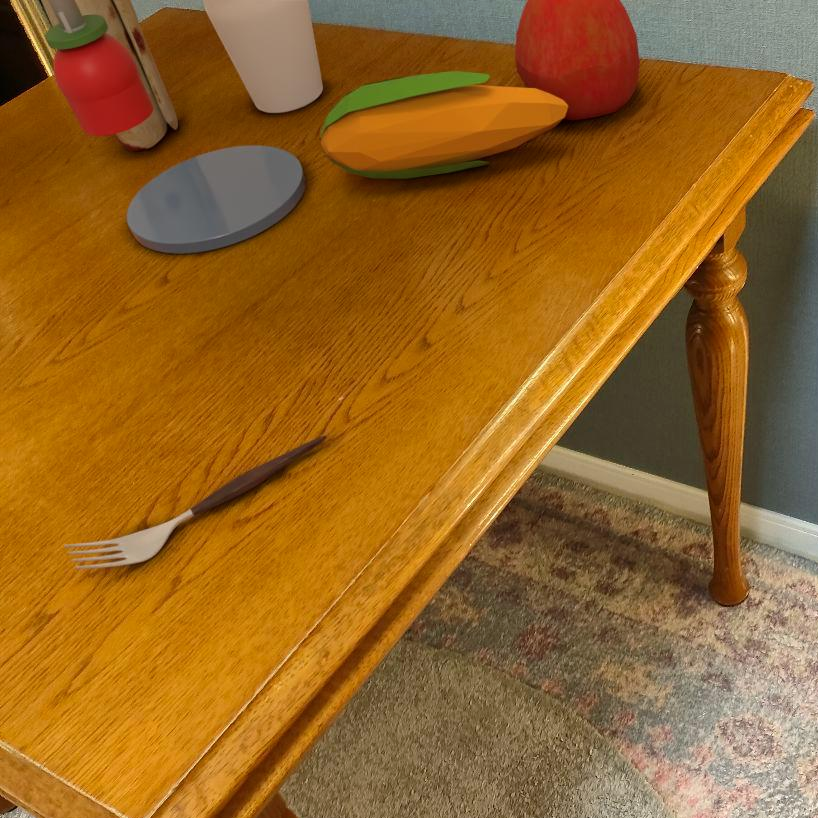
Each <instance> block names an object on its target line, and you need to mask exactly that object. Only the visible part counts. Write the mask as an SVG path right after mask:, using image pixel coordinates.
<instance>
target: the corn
mask: <svg viewBox="0 0 818 818" xmlns="http://www.w3.org/2000/svg"><path fill="white" fill-rule="evenodd" d="M490 76H491V74H488V73H483V72H482V73H481V72H474V71H473V72H471V71H460V70H459V71H457V70H449V71H442V72H433V73H423V74H417V75H416V74H415V75H411V76H404V77H403V76H399V77H393V78H389V79H383V80H378V81H374V82H369V83H363V84H362V85H361V86H358V87H357V88H356V89H353V90H351V91H350V92H347V94H346V95H344V97H342V98H341V99H340V100H339V101H338V102H337V103H336V104H335V105H333V107H332V108H331V110H330V111H329V113H328V114H327V116H326V118H325V120H324V124H323V126H322V128H321V132H320V134H319V140H320V145H321V148H322V151H323V152H322V153H324V154H325V156H326V158H328V159H329V160H330V161H331V162H332V164H334V165H335V166H337V167H338V168H339V169H341V170H344V171H346V172H348V173H349V174H353V175H357V176H361V177H365V178H370V179H389V180H391V179H393V180H394V179H397V180H402V179H406V180H407V179H414V178H421V177H427V176H435V175H442V174H449V173H453V172H458V171H462V170H467V169H472V168H478V167H482V166H486V165H490V162H488V161H485V160H479V159H481V158H485V157H488V156H493V155H495V154H499V153H503V152H505V151H509V150H513V149H515V148H517V147H519V146H521V145H523V144H525V143H527V142H529V141H530V140H532V139H534V138H536V137H538V136H540V135H542V134H544V133H546V132H548V131H549V130H551V129H553V128H555V127H557V125H558V124H560V122H561V121H563V120H564V119H563V118H564V117H565V115H566V112H567V109H568V105H567V104H566V103H565V101H564V100H562V99H560V98H558V97H556V96H554V95H552V94H550V93H547V92H544V91H541V90H539V89H536V88H527V87H521V86H516V87H515V86H500V85H484V83H486V82H487V81H488V80H489V79H490ZM479 84H480V85H479ZM481 84H483V85H481Z"/></svg>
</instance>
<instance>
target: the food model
mask: <svg viewBox="0 0 818 818" xmlns="http://www.w3.org/2000/svg"><path fill="white" fill-rule="evenodd" d="M40 1H41V4H42V6H43V8H44V10H45V13H46V15H47V18H48V19H49V22H50V25H51V28H52V27H54V26H55V25H57V24H59V22H58V20H57V18H56V16H55V14H54V12H53V10H52V8H51V6H50V4H49V2H48V0H40ZM75 1H76V3H77V5H78V7H79V10H80V12H81V14H82V15H91V14H95V15H101V16H103V17H104V18H105V21H106V23H107V25H108V30H107V31H106V33H107V34H109V35H111V36H113V37H114V38H116V39H117V40H119V41H120V42H121V43H122V44H123V45H124V46H125V47H126V48H127V49H128V50H129V52H130V53H131V55H132V56H133V58H134V60H135V62H136V65H137V68H138V72H139V75H140V77H141V80H142V82H143V84H144V86H145V88H146V91H147V93H148V95H149V97H150V100H151V102H152V104H153V107H154V109H153V112H152V114H151V115H150V116H149V117H148V118H147V119H146V120H145V121H143V122H142V123H140V124H139V125H137V126H135V127H133V128H131V129H129V130H126V131H124V132H120V133H117V134H114V135H115V137H116V139H117V141H118V142H119V143H120V144H121V145H122V146H123V147H124V148H125V149H126V150H128V151H130V152H138V151H142V150H147V149H150V148H152V147H154V146H155V145H156V144H157V143H159V141H161V140H162V139H163V138H164V136H165V135H166V133H167V131H168V125H169V127H171V128H172V129H173V130H174V131H177V129H178V127H179V122H178V118H177V114H176V111H175V108H174V105H173V103H172V101H171V99H170V96H169V94H168V91H167V88H166V86H165V84H164V81H163V79H162V76H161V74H160V72H159V69H158V67H157V64H156V61H155V59H154V57H153V54H152V51H151V49H150V47H149V45H148V42H147V39H146V37H145V35H144V32H143V29H142V27H141V25H140V21H139V18H138V16H137V13H136V10H135V8H134V5H133V4H132V1H131V0H75Z"/></svg>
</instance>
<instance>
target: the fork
mask: <svg viewBox="0 0 818 818" xmlns="http://www.w3.org/2000/svg"><path fill="white" fill-rule="evenodd" d="M327 438H328V436H327V435H322V436H319V437H317V438H314V439H312V440H310V441H307V442H305V443H303V444H301V445H299V446H297V447H295V448H293V449H291V450H289V451H287V452H285V453H283V454H281V455H279V456H276V457H275V458H272V459H270V460H268V461H266V462H264V463H262V464H260V465H257V466H256V467H253V468H251V469H250V470H247V471H246V472H244V473H242V474H240V475H238V476H236V477H235V478H234V479H232V480H230V481H229V482H227V483H225V484H224V485H222V486H221V487H219V489H217V490H215V491H214V492H212V493H211V494H209V495H208V496H207V497H205V498H204V499H202V500H201V501H200V502H198V503H196V504H195V505H193V506H192V507H191V508H189V509H188V510H186V511H185V512H183V513H182V514H180V515H178V516H176V517H175V518H173V519H170V520H169V521H166V522H163V523H161V524H158V525H154V526H152V527H149V528H146V529H143V530H140V531H137V532H134V533H131V534H127V535H124V536H120V537H116V538H111V539H107V540H99V541H91V542H83V543H81V542H80V543H71V544H69V543H67V544H65V545H64V548H85V547H88V548H89V547H96V546H97V547H99V546H100V547H101V546H108V547H102V548H94V549H86V550H74V551H68V552H67V553H68V555H70V556H72V555H74V556H75V555H88V554H89V555H91V554H103V553H110V552H111V553H112V554H106V555H99V556H91V557H81V558H80V557H79V558H72V559H71V562H74V563H79V562H94V561H107V560H116V559H121V560H117V561H112V562H111V561H110V562H105V563H96V564H88V565H87V564H86V565H76V566H75V569H76V570H89V569H103V568H112V567H123V566H127V565H128V566H129V565H134V564H139V563H143V562H145V561H148V560H150V559H152V558H154V556H156V555H157V554H158V553H159V552H160V551H161V549H162V548H163V547H164V545H165V544H166V542H167V541H168V539H169V537H170V536H171V534H172V533H173V532H174V530H175V529H176V527H177V526H178V525H180V524H181V523H183V522H185V521H186V520H189V519H191V518H192V517H195V516H197V515H200V514H202V513H204V512H206V511H208V510H211V509H212V508H215V507H217V506H219V505H221V504H223V503H226V502H228V501H230V500H232V499H234V498H236V497H239V496H241V495H243V494H244V493H247V492H248V491H250V490H251V489H253V488H255V487H257V486H258V485H260V484H261V483H263V482H264V481H266V480H268V479H269V478H270V477H272V476H273V475H274V474H276V473H277V472H279V471H280V470H282V469H283V468H285V467H287V466H288V465H290V464H291V463H293V462H294V461H296V460H297V459H300V458H301V457H302V456H304V455H305V454H307V453H309V452H310V451H312V450H313V449H315V448H316V447H317V446H319V445H320V444H322V443H323V442H324V441H325V440H326V439H327ZM109 545H114V546H109ZM113 552H117V553H114V554H113Z"/></svg>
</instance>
